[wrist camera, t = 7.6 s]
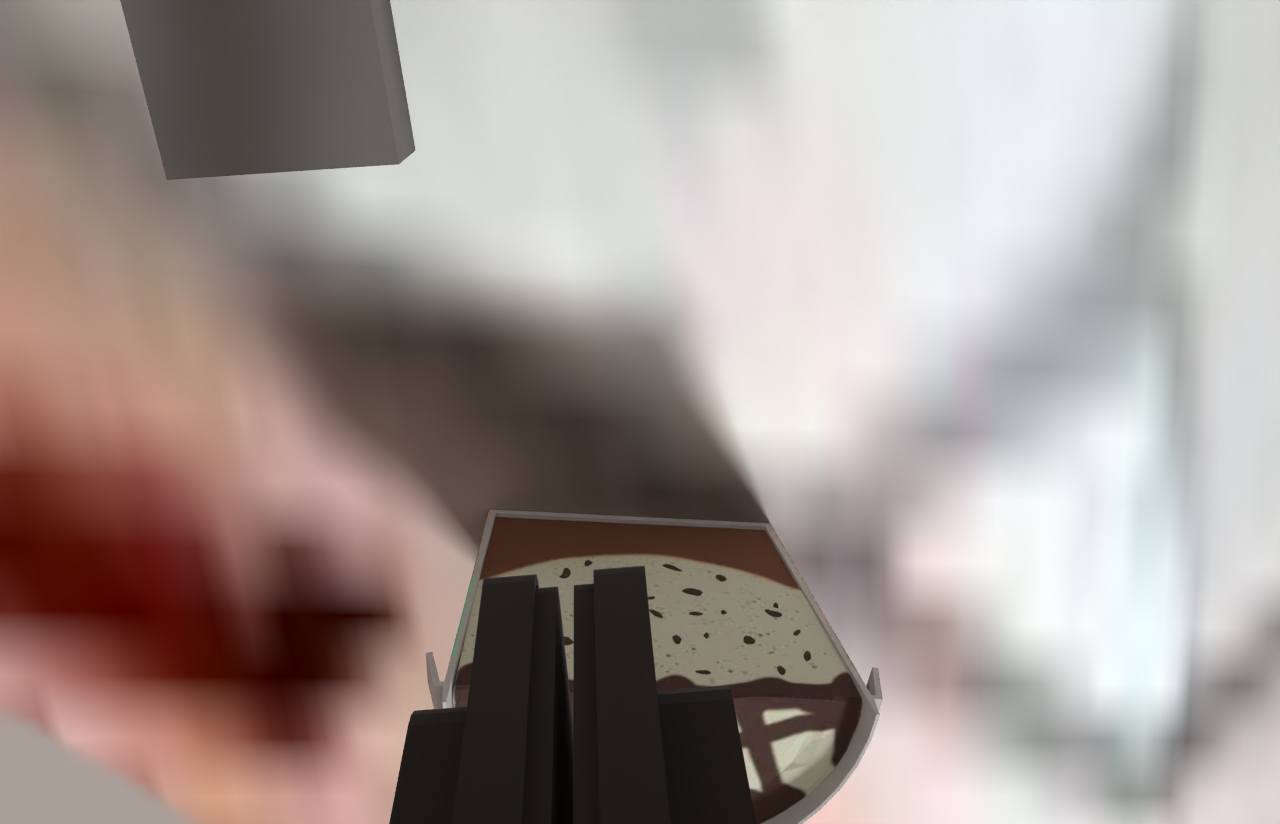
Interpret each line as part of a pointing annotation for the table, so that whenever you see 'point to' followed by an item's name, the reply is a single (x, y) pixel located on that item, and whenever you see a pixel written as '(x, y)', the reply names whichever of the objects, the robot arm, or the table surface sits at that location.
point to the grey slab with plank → (270, 84)
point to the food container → (703, 637)
